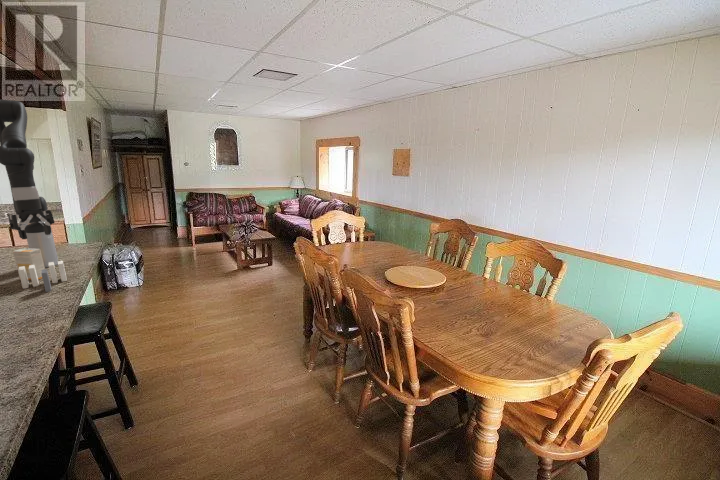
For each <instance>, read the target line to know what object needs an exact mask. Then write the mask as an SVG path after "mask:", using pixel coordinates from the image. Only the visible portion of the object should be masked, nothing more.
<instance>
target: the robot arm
mask: <svg viewBox="0 0 720 480" xmlns="http://www.w3.org/2000/svg"><path fill="white" fill-rule="evenodd" d="M6 123H9V124H8V125H7V126H6ZM27 126H28V112H27V108H26V107H25V105H24V103H23V102H21V101H19V100H15V99H14V100H9V99H0V164H1V165H3V166H4V167H5V170H6V175H7V177H8V181H9V185H10V189H11V190H10V192H11V197H12V203H13V209H14V212H15V214H9V215H7V217H8V222H9V227H10V230H11V231H12V230H15V231H17V232H18V236H19V238H20V239H21V240H26V242H27V246H28V247H27V248H30V249H40V251H41V255H42V259H43V263H44V267H45V269H47V268H49V266H48V265H49V262H54V266H55V267H56V266H58V261H59V257H58V253H57V249H56V243H55V240H54V235H53V230H52V225H53V224H55V223H56V222H55V219H54V215H53V212H52V210H50V209H48V204H47V201H46V199H45V198H44V197H43V196H40V195H39V191H38V190H37V189H38V188H37V187H36V183H35V179H34V169H35V167H34V166H35V154H34V152H33V151H32V150H31V149H29V148H27V146H28V145H27V138H26V131H27ZM18 219H20V220H19V221H18Z"/></svg>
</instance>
